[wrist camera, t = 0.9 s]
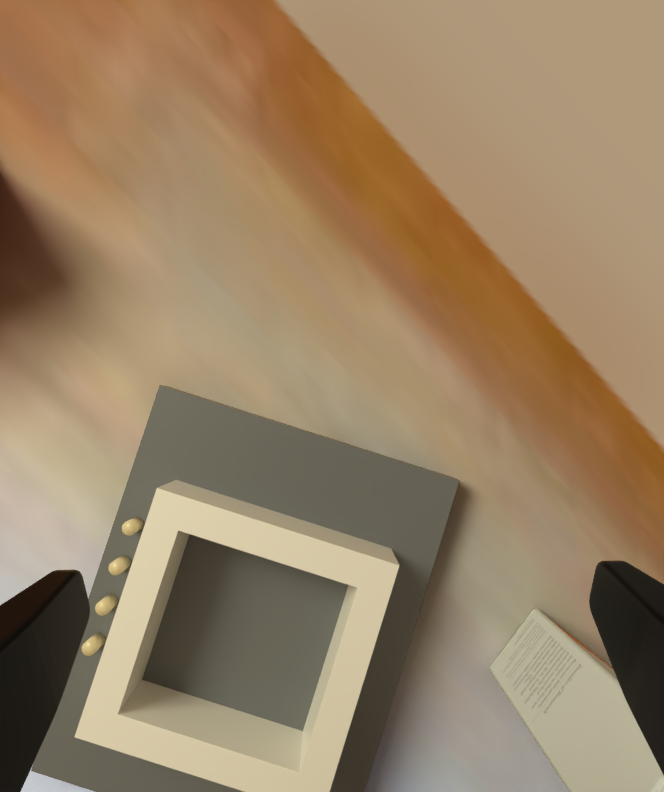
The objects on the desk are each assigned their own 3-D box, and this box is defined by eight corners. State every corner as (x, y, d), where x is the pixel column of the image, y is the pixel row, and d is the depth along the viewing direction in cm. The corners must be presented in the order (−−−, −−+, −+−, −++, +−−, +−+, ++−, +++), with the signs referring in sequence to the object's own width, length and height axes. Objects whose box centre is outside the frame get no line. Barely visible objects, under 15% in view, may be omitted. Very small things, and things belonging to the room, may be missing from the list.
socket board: (339, 849, 27) (342, 929, 23) (44, 754, 27) (-9, 818, 23) (453, 478, 28) (476, 488, 23) (167, 386, 28) (138, 380, 23)
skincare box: (624, 673, 27) (856, 874, 15) (575, 739, 27) (771, 993, 15) (532, 601, 27) (693, 744, 15) (483, 666, 27) (606, 862, 15)
